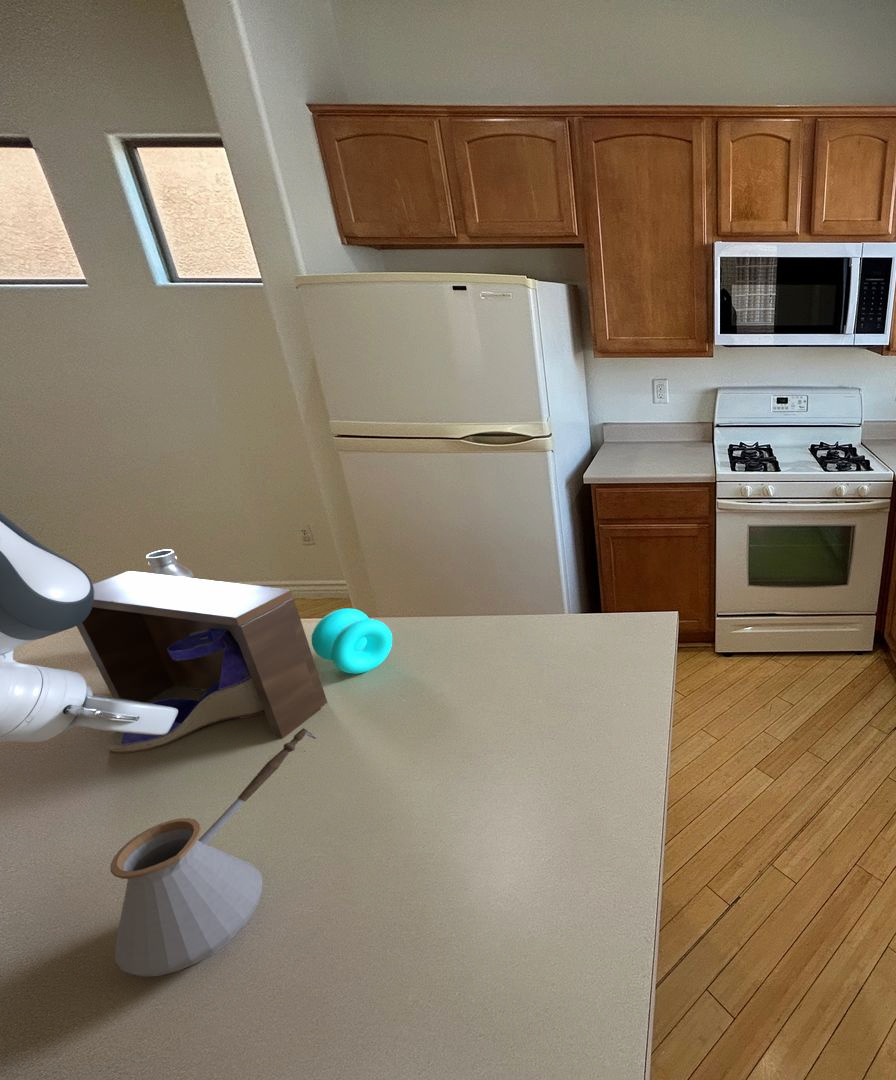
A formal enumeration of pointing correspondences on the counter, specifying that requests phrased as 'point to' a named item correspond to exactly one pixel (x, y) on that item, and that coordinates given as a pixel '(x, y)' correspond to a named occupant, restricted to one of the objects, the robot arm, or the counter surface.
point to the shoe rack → (194, 605)
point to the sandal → (215, 705)
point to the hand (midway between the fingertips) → (155, 716)
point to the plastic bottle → (167, 564)
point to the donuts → (352, 640)
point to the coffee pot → (185, 890)
